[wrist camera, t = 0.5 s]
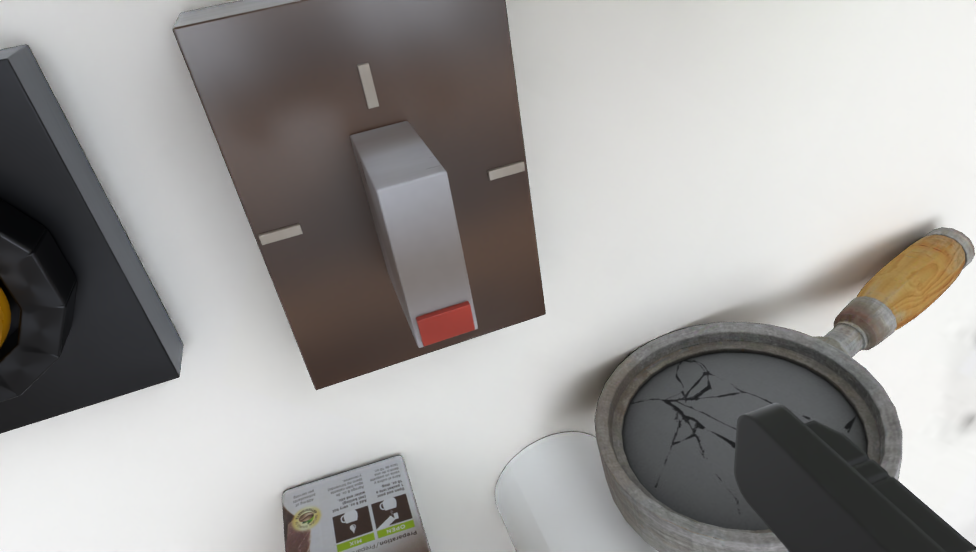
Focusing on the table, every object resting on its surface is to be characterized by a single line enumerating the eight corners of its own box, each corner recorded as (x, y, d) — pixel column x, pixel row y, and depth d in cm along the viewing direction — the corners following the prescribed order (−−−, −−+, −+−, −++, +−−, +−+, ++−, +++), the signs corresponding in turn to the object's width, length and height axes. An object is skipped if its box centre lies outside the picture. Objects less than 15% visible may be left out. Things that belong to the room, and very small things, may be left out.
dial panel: (179, 13, 21) (171, 29, 18) (472, -49, 23) (501, -43, 20) (309, 348, 29) (316, 393, 26) (521, 280, 30) (547, 316, 28)
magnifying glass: (1100, 262, 32) (773, 615, 23) (1084, 310, 33) (773, 657, 24) (840, 194, 41) (540, 422, 32) (838, 234, 43) (552, 461, 34)
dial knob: (349, 134, 22) (377, 193, 17) (407, 119, 22) (449, 173, 18) (388, 273, 24) (420, 353, 20) (438, 258, 25) (481, 333, 21)
